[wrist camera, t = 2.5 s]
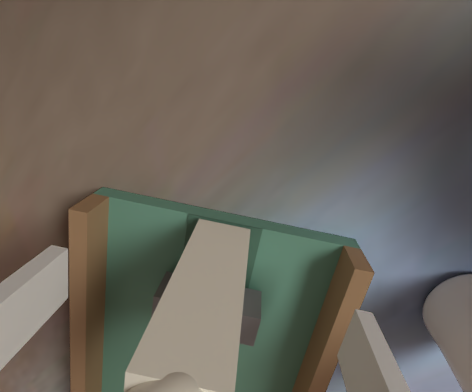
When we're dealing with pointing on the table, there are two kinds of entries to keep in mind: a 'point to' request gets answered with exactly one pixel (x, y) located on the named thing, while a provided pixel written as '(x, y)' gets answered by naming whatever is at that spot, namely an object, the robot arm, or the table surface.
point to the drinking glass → (452, 325)
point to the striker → (199, 317)
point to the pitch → (257, 278)
